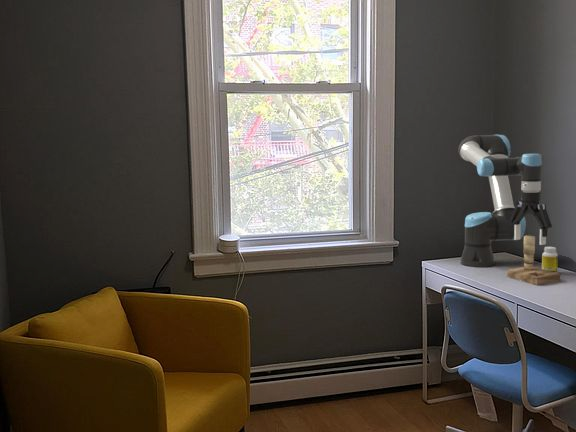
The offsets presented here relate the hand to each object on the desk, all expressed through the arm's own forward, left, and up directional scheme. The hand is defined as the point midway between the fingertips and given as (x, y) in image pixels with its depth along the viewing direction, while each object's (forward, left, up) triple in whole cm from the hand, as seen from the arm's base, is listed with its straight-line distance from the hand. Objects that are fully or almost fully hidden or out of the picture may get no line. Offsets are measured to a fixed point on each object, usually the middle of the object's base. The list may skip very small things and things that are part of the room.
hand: (529, 242), depth 258 cm
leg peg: (0, 0, -12) cm, 12 cm away
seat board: (+4, -1, -15) cm, 15 cm away
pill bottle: (0, +12, -15) cm, 19 cm away
